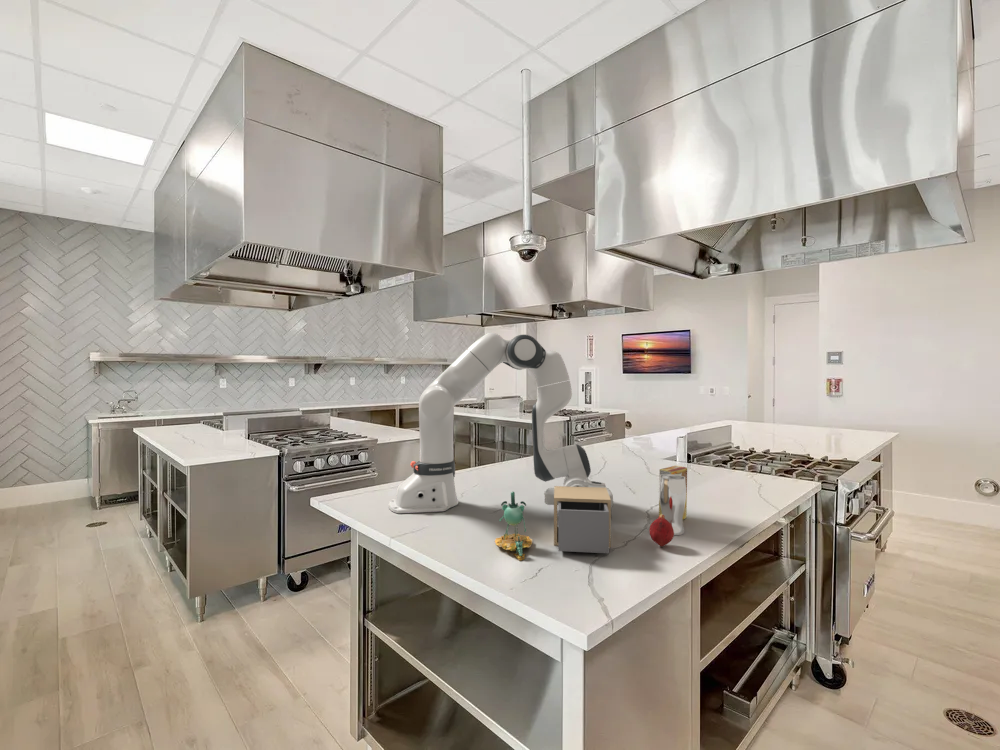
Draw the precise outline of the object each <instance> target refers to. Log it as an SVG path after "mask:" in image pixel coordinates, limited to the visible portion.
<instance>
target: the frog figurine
mask: <svg viewBox="0 0 1000 750" xmlns="http://www.w3.org/2000/svg"><path fill="white" fill-rule="evenodd" d="M515 494H516V493H515V491H511V492H510V502H511V503H508V501H506V500H505V501H503V502H502V503H501V509H502V511H503V515H502V517H501V518H499V522H501V521H502V520H503V519H504V521H505V522H506V523H507V526H506V529H505V533H504V534H503V535H501V536H499V537H496V538H495V540H494V542H495V545H496V546H497V547H499V548H502V549H503V550H506V551H511V552H514V551H516V552H515V553H514V554H512V556H514V557H516V559H517V560H518V561H524V560H525V559H526V557H525V556H526V553H523V550H524V549H525V548H528V549H529V548H531V546H532V544H533V539H532V538H531V537H530V536H528V535H525V534H522V535H521V534H520V533H519V532H518V531H517V529H514V533H511V534H509V533H508V531H509V527H510V526H513V527H515V526H518V525H520V523H521V522H522V520H523V528H524V533H526V532H527V528H526V523H525V518H524V514H523V513H524V510H525V507H527V503H526V502H525V501H520V504H522V505H518V503H519V502H516V499H515V496H516V495H515Z"/></svg>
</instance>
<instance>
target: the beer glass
mask: <svg viewBox="0 0 1000 750" xmlns="http://www.w3.org/2000/svg"><path fill="white" fill-rule="evenodd" d="M659 475H660V474H659ZM658 483H659V484H658V486H659V487H658V500H659V499H660V505H661V511H662V514H663V515H664V516H665V517H664V518H665V519H666V520H667V521H669V522H670V524H671V525H672V527H673V530H674V536H681V535H684V533H685V529H684V522H683V521H684V519H683V512H684V507H685V501H686V482H685V477H684V476H680V475H674V474H663V475H660V482H659V481H658Z"/></svg>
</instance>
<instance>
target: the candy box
mask: <svg viewBox="0 0 1000 750" xmlns="http://www.w3.org/2000/svg"><path fill="white" fill-rule="evenodd" d="M663 474H674V475H680V476H684V477H685V482H686V501H685V507H684V512H683V520H685V519H687V517H688V516H687V511H688V509H687V505H688V503H687V502H688V497H687V496H688V467H687V466H681V465H672V466H668V467H664V468H661V469H659V476H658V477H659V478H658V479H659V481H658V483H659V482H660V475H663ZM661 514H662V511H661V505H660V499H659V498H658V517H659V516H660V515H661Z"/></svg>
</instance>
